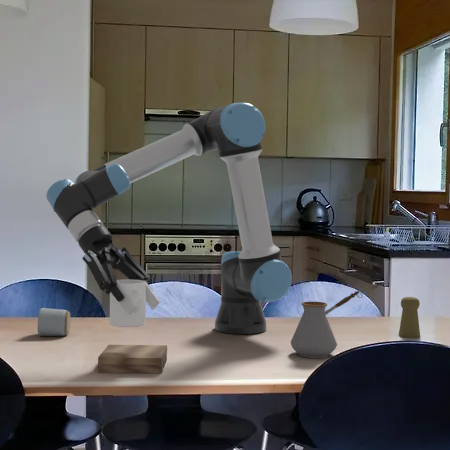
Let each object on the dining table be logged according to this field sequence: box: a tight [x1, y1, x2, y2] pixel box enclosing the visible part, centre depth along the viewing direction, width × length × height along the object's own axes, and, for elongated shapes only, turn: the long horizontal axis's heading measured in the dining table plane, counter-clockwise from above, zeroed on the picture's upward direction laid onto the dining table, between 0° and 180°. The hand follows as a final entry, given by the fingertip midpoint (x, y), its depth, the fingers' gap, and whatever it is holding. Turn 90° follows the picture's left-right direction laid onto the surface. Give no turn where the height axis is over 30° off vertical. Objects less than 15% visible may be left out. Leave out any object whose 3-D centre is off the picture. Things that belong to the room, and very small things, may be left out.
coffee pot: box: [290, 290, 363, 359], centre depth 176 cm, size 21×12×15 cm, turn 123°
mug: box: [109, 278, 147, 328], centre depth 158 cm, size 8×12×10 cm
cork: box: [398, 296, 421, 339], centre depth 198 cm, size 6×6×11 cm
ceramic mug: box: [37, 307, 71, 337], centre depth 195 cm, size 11×8×8 cm
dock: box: [97, 344, 168, 374], centre depth 160 cm, size 14×13×4 cm
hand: (144, 308), depth 157 cm, fingers closed on mug, 8 cm apart
